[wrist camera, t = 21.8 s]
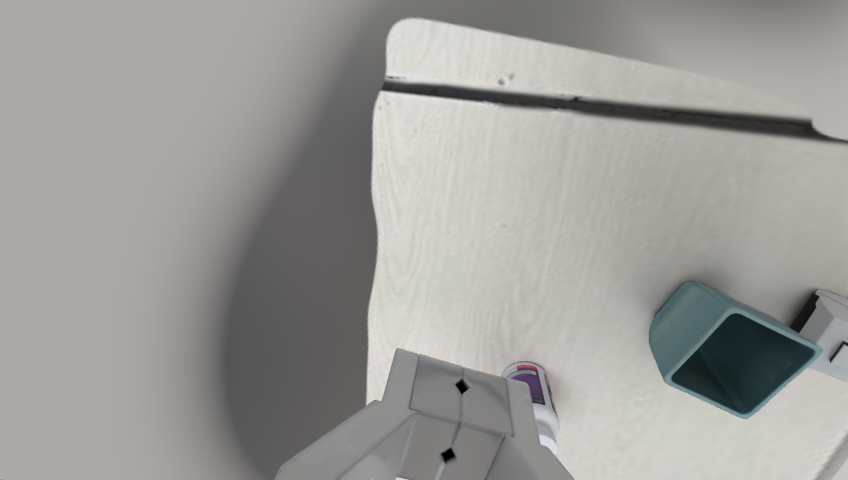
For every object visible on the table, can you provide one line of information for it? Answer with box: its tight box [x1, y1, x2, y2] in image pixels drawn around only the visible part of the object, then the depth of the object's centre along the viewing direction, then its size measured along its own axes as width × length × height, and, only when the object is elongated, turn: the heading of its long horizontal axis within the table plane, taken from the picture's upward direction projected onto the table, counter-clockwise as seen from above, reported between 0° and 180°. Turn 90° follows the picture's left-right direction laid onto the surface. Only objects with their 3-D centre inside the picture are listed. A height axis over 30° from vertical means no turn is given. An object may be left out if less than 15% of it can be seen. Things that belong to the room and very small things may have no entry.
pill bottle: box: [502, 362, 559, 456], centre depth 42 cm, size 5×5×10 cm
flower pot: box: [649, 282, 823, 419], centre depth 37 cm, size 9×9×9 cm
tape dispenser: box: [791, 289, 848, 382], centre depth 36 cm, size 6×7×10 cm
